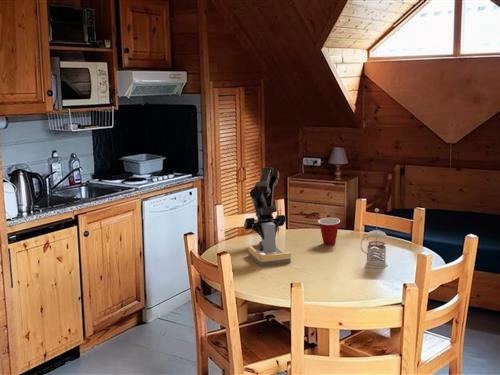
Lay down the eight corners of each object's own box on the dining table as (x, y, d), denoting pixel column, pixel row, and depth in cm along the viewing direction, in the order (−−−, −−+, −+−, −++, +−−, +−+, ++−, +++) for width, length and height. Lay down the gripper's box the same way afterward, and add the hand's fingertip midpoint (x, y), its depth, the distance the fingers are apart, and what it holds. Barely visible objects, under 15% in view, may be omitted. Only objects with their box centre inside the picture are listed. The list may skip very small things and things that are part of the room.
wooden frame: (248, 255, 274) (248, 246, 273) (277, 252, 278) (277, 242, 277) (260, 266, 257) (260, 256, 256) (290, 262, 261) (290, 253, 260)
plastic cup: (314, 245, 288) (314, 221, 286) (322, 240, 297) (322, 216, 295) (335, 247, 283) (335, 223, 281) (343, 242, 292) (343, 218, 290)
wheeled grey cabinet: (258, 250, 268) (258, 222, 266) (273, 248, 270) (273, 221, 268) (264, 255, 260) (263, 227, 258) (279, 253, 262) (279, 225, 260)
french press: (388, 268, 249) (389, 211, 245) (360, 267, 252) (360, 210, 247) (387, 261, 259) (388, 206, 254) (360, 261, 261) (361, 205, 257)
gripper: (244, 200, 263) (252, 230, 255) (284, 197, 268) (293, 226, 260) (240, 214, 272) (248, 243, 263) (278, 210, 277) (287, 239, 269)
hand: (269, 238), depth 264 cm, fingers closed on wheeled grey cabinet, 5 cm apart
